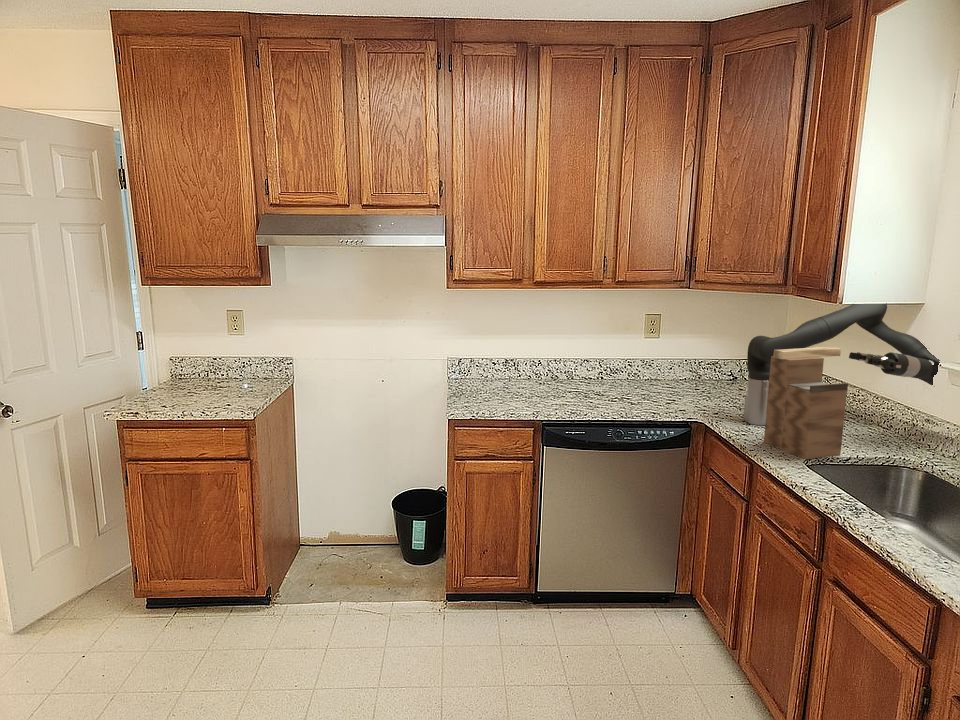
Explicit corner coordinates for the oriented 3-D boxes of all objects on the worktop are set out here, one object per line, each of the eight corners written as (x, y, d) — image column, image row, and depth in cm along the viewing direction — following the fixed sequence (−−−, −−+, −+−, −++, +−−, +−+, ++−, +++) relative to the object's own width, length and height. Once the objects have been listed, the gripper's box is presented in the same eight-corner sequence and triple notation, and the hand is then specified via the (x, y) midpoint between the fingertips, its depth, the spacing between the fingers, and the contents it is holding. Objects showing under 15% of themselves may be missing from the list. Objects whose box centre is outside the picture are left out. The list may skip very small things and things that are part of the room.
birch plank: (773, 357, 204) (773, 349, 204) (830, 354, 211) (831, 346, 211) (782, 359, 201) (783, 351, 200) (840, 355, 208) (840, 348, 207)
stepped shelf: (763, 442, 212) (771, 356, 206) (796, 439, 216) (804, 354, 211) (805, 459, 195) (814, 365, 190) (840, 455, 199) (850, 363, 194)
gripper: (887, 350, 217) (847, 343, 214) (921, 358, 203) (878, 351, 201) (880, 370, 219) (840, 363, 216) (913, 380, 205) (871, 373, 202)
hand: (859, 357), depth 208 cm, fingers open, 8 cm apart
